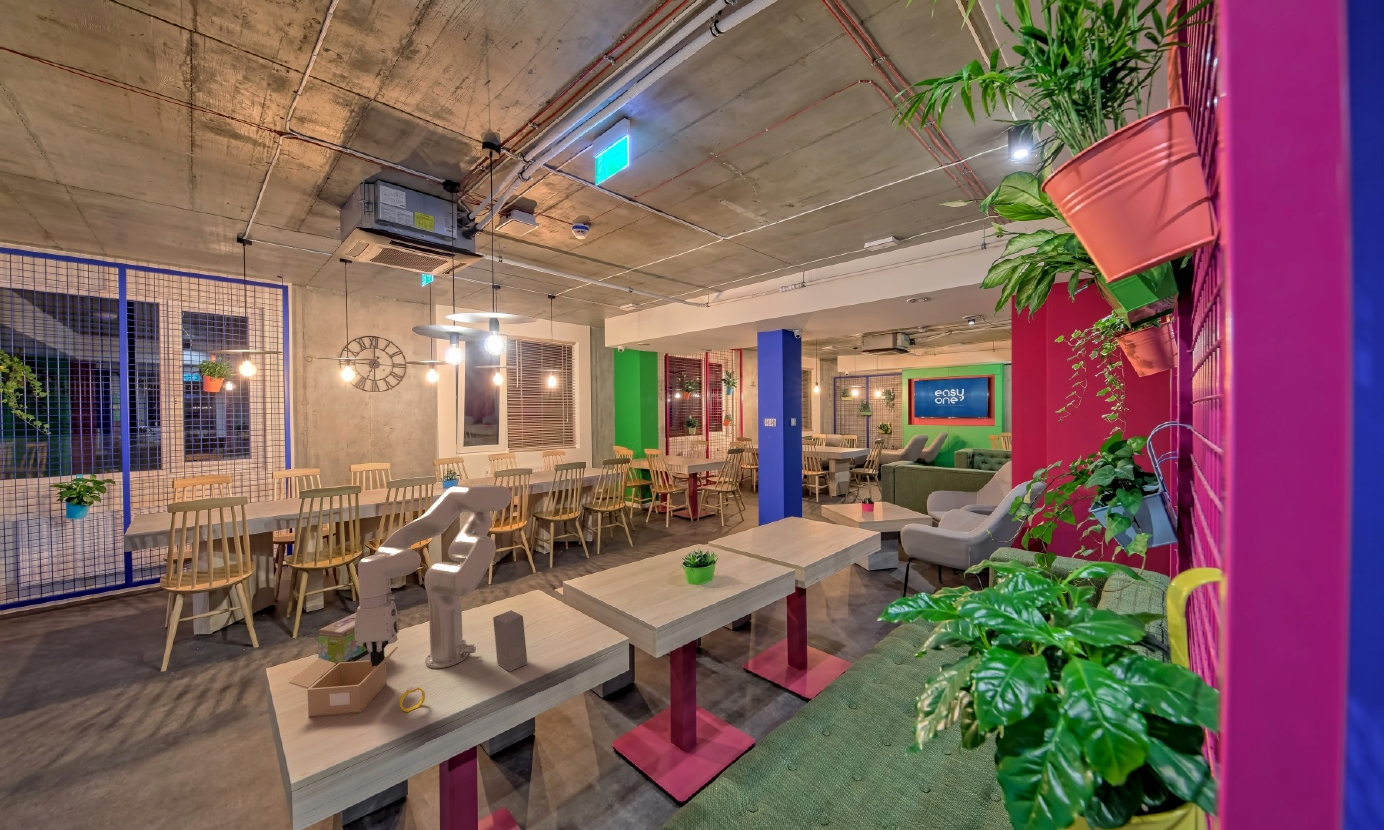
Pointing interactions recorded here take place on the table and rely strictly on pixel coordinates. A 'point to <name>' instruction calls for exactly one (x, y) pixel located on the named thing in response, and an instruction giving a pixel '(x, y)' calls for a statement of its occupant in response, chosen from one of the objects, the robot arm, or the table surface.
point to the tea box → (341, 642)
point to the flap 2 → (380, 665)
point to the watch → (410, 690)
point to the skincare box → (510, 640)
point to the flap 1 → (312, 673)
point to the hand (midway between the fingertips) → (377, 663)
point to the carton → (345, 689)
